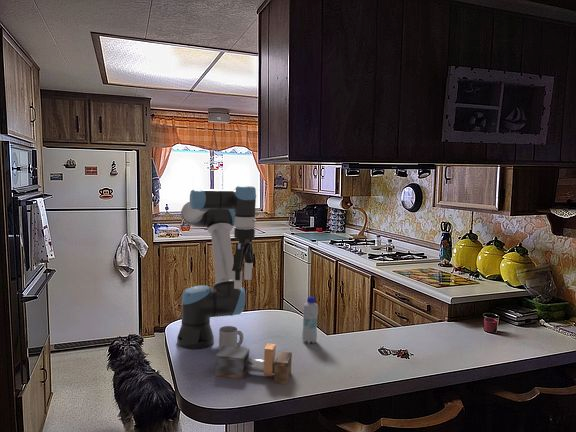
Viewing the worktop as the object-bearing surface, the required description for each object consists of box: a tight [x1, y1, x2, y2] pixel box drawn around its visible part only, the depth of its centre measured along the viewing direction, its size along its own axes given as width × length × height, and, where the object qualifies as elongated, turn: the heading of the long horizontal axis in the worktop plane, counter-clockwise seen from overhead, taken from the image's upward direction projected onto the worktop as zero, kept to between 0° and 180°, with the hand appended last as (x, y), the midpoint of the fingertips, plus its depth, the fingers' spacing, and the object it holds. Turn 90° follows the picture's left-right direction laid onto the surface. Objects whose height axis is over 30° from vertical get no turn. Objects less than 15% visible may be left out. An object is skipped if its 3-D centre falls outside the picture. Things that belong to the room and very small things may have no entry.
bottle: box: [302, 296, 319, 345], centre depth 187 cm, size 7×7×20 cm
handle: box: [244, 343, 277, 377], centre depth 155 cm, size 18×5×10 cm, turn 80°
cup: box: [218, 325, 244, 352], centre depth 175 cm, size 7×10×9 cm
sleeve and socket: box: [214, 346, 293, 385], centre depth 156 cm, size 26×9×8 cm, turn 80°
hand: (243, 284), depth 162 cm, fingers open, 13 cm apart
